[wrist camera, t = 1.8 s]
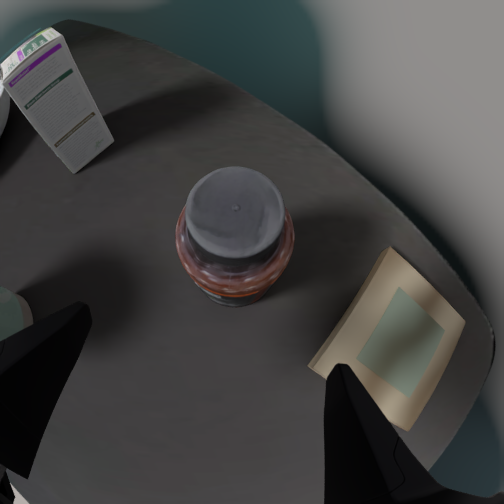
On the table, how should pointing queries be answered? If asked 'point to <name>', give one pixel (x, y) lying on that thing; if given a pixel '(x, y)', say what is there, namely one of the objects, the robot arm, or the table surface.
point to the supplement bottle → (235, 235)
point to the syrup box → (56, 99)
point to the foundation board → (394, 339)
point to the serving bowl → (3, 107)
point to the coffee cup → (13, 313)
